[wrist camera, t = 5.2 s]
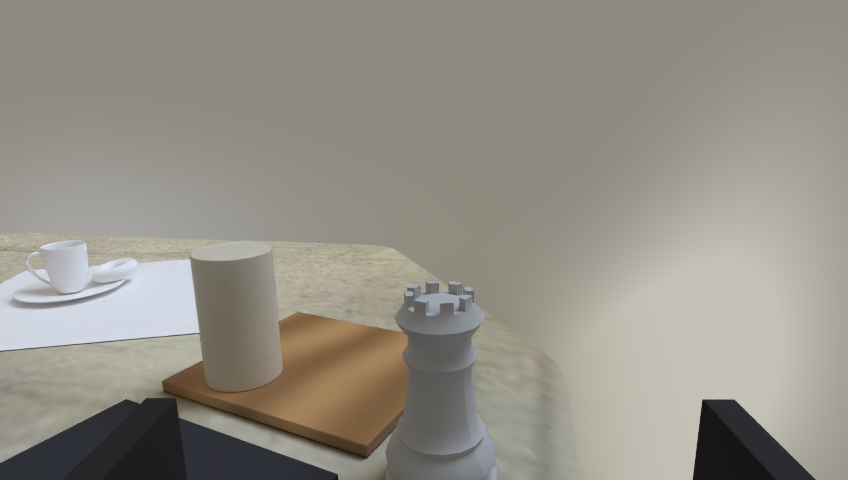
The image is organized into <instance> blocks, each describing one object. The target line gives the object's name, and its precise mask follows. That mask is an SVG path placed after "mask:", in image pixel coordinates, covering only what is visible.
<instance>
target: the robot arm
mask: <svg viewBox="0 0 848 480" xmlns="http://www.w3.org/2000/svg"><path fill="white" fill-rule="evenodd" d="M63 480H187V474H186V466H185V459H184V452H183V445H182V438H181V431H180V424H179V417H178V410H177V403H176V398H146V399H145V400H144V401H143V402H142V403H141V404H140V405H139V406H138V407H137V408H136V409H135V410H134V411H133V412H132V413H131V414H130V415H129V416H128V417H127V418H125V419H124V420H123V421H122V422H121V423H120V424H119V425H118V426H117V427H116V428H115V429H114V430H113V431H112V432H111V433H110V434H109V435H108V436H107V437H106V438H105V439H104V440H103V441H102V442H101V443H100V444H99V445H98V446H97V447H96V448H95V449H94V450H93V451H92V452H91V453H90V454H89V455H87V456H86V457H85V458H84V459H83V460H82V461H81V462H80V463H79V464H78V465H77V466H76V467H75V468H74V469H73V470H72V471H71V472H70V473H69V474H68V475H67V476H66V477H65V478H64V479H63ZM693 480H815V479H814V478H813V477H812V476H811V475H810V474H809V473H808V472H807V471H806V470H805V469H804V468H803V467H802V466H801V465H800V464H799V463H798V462H797V461H796V460H795V459H794V458H793V457H792V456H791V455H790V454H789V453H788V452H787V451H786V450H785V449H784V448H783V447H782V446H781V445H780V444H779V443H778V442H777V441H776V440H775V439H774V438H773V437H772V436H771V435H770V434H769V433H768V432H766V430H765V429H764V428H763V427H762V426H761V425H760V424H759V423H757V422H756V420H755V419H754V418H753V417H752V416H750V415H749V414H748V413H747V412H746V411H745V410H744V409H743V408H742V407H741V406H740V405H739V404H738V403H737V402H736V401H735V400H702V408H701V416H700V424H699V433H698V442H697V449H696V458H695V466H694V474H693Z"/></svg>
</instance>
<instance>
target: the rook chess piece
mask: <svg viewBox="0 0 848 480" xmlns="http://www.w3.org/2000/svg"><path fill="white" fill-rule="evenodd" d="M448 285H449V292H439V281H426V293H423V294H421V292H420V285H417V284H414V285H411V286H409V287H407V292H404V302H405V303H404V305H403V306H402V307H401V309H400V310H399V311H398V313H397V314H396V316H395V320H396V323H397V324H398V326H399V327H400V328H401V329H402V330H403V332H404V333H405V334H406V335H407V337H408V346H407V347H406V348H405V350H404V352H403V353H402V357H403V360H404V362H405V363H406V364H407V365H408V383H407V392H406V400H405V408H404V413H403V416H402V417H400V419H399V421H398V424H397V426H396V430H395V431H394V432H393V434H392V436H391V438H390V440H389V443H388V446H387V449H386V457H387V463H388V465H387V467H386V470H385V477H386V480H497V472H498V471H497V469H496V467H495V457H496V449H495V446H494V443H493V441H492V439H491V437H490V435H489V433H488V431H487V430H486V429H485V425H484V423H483V421H482V419H481V417H480V416H478V412H477V409H476V402H475V395H474V388H473V381H472V365H473V363H474V362H475V361H476V359H477V355H478V353H477V352H476V350H475V349H474V347H473V346H472V343H471V337H472V335H473V334H474V333H475V331H476V330H477V329H478V328H479V326H480V325H481V324H482V323H483V319H484V315H483V314H482V312H481V311H480V310H479V309H478V307H477V306H476V305H475V304H474V290H473V289H472V288H471V287H464V288H463V295H462V283H459V282H453V281H451V282H449V284H448Z"/></svg>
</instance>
